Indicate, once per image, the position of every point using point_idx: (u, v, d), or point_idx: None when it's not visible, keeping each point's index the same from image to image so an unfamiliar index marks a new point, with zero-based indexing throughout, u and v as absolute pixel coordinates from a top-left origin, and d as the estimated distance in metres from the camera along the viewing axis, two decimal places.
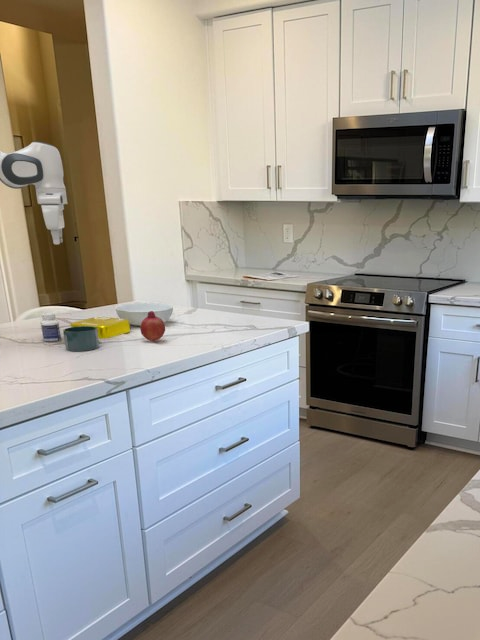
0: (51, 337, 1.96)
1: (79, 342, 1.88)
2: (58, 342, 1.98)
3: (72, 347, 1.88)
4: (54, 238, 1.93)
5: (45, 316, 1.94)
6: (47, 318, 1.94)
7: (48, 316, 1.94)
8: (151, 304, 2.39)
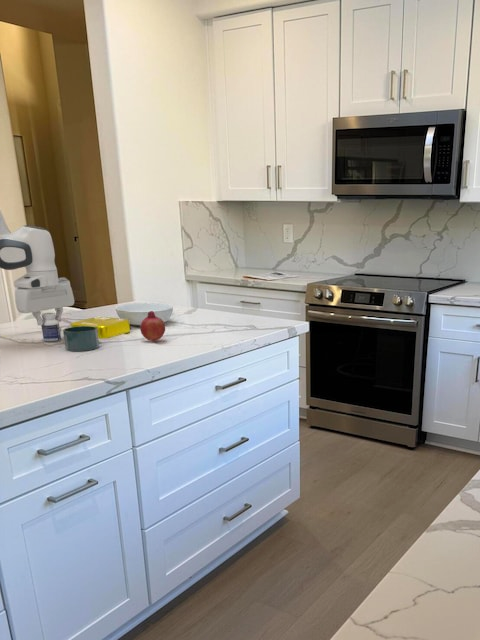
0: (51, 337, 1.96)
1: (79, 342, 1.88)
2: (58, 342, 1.98)
3: (72, 347, 1.88)
4: (37, 319, 1.92)
5: (45, 316, 1.94)
6: (47, 318, 1.94)
7: (48, 316, 1.94)
8: (151, 304, 2.39)
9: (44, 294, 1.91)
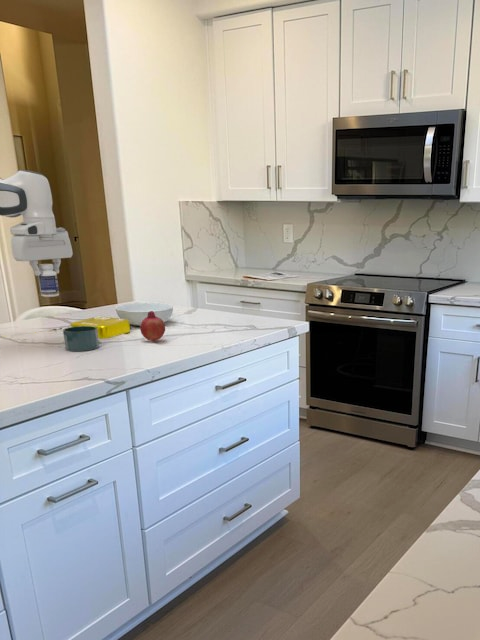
0: (49, 288, 1.90)
1: (79, 342, 1.88)
2: (56, 294, 1.91)
3: (72, 347, 1.88)
4: (34, 269, 1.86)
5: (43, 266, 1.88)
6: (44, 268, 1.88)
7: (46, 266, 1.88)
8: (151, 304, 2.39)
9: (42, 242, 1.85)
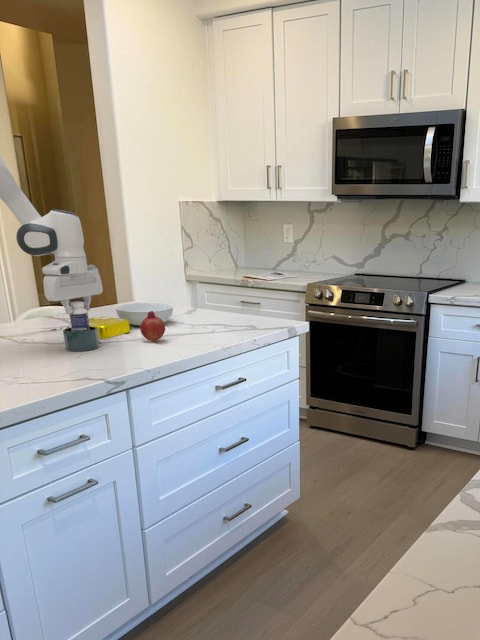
0: (80, 326, 1.88)
1: (79, 342, 1.88)
2: None
3: (72, 347, 1.88)
4: (66, 308, 1.85)
5: (74, 304, 1.86)
6: (76, 307, 1.87)
7: (77, 304, 1.87)
8: (151, 304, 2.39)
9: (73, 281, 1.84)
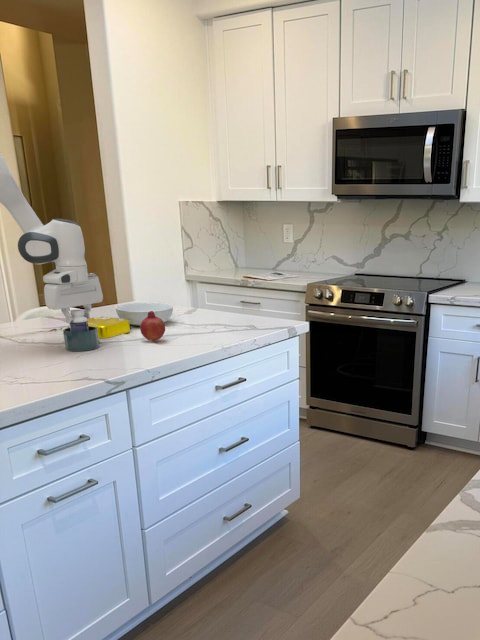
0: None
1: (79, 342, 1.88)
2: None
3: (72, 347, 1.88)
4: (66, 316, 1.86)
5: (74, 313, 1.87)
6: (76, 315, 1.88)
7: (77, 313, 1.87)
8: (151, 304, 2.39)
9: (74, 290, 1.85)
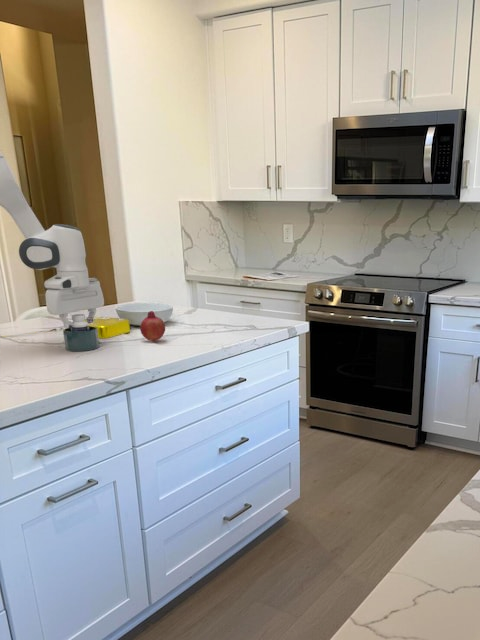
0: None
1: (79, 342, 1.88)
2: None
3: (72, 347, 1.88)
4: (64, 322, 1.85)
5: (75, 318, 1.88)
6: (77, 320, 1.88)
7: (78, 318, 1.88)
8: (151, 304, 2.39)
9: (75, 295, 1.85)
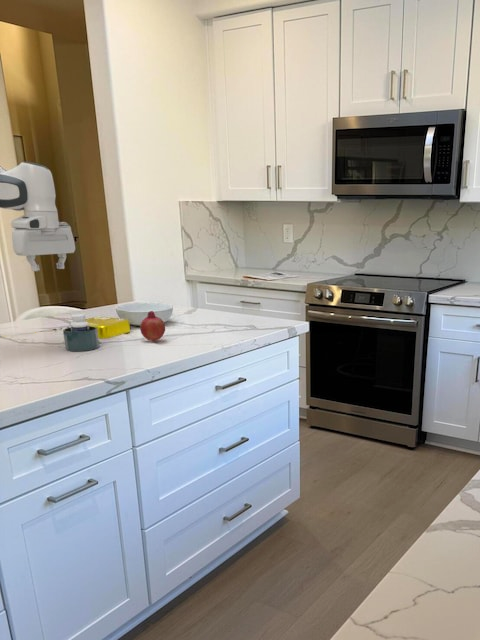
0: None
1: (79, 342, 1.88)
2: None
3: (72, 347, 1.88)
4: (31, 264, 1.79)
5: (75, 318, 1.88)
6: (77, 320, 1.88)
7: (78, 318, 1.88)
8: (151, 304, 2.39)
9: (44, 237, 1.80)
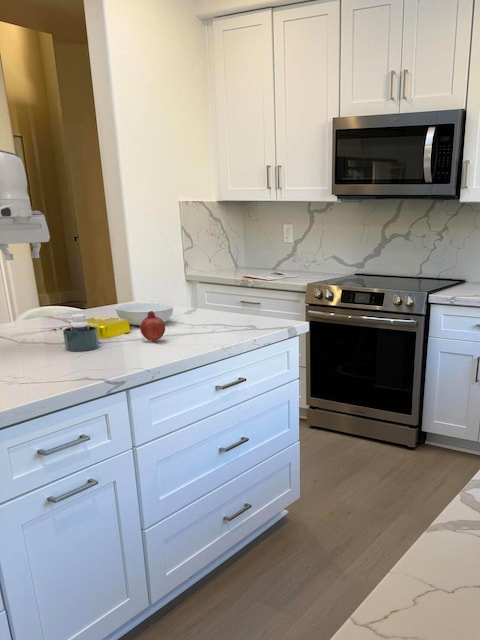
0: None
1: (79, 342, 1.88)
2: None
3: (72, 347, 1.88)
4: (5, 253, 1.79)
5: (75, 318, 1.88)
6: (77, 320, 1.88)
7: (78, 318, 1.88)
8: (151, 304, 2.39)
9: (16, 225, 1.79)
